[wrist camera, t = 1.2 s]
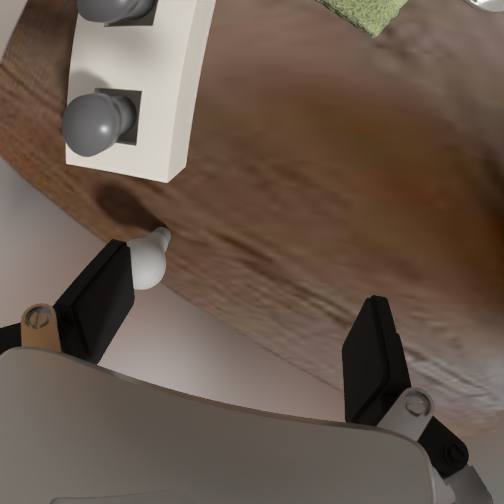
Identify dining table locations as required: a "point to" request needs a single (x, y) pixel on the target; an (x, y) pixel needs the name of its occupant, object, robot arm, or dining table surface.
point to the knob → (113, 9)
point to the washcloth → (366, 12)
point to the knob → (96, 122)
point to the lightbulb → (149, 258)
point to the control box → (144, 83)
